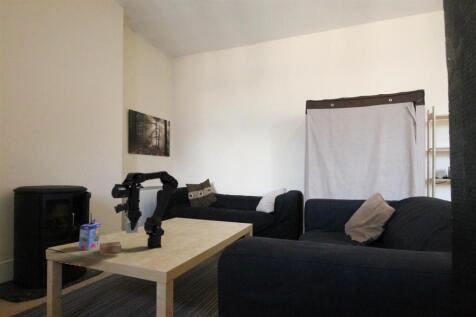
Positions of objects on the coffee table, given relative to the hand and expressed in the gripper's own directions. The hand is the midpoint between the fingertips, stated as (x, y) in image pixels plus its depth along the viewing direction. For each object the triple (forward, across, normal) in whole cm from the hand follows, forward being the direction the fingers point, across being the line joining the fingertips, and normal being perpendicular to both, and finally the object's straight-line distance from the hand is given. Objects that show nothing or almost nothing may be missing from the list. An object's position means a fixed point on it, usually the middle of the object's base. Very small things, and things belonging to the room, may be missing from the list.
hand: (131, 229), depth 127 cm
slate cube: (+1, 0, 0) cm, 1 cm away
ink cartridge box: (+12, -21, -18) cm, 30 cm away
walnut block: (+12, -7, -9) cm, 16 cm away
